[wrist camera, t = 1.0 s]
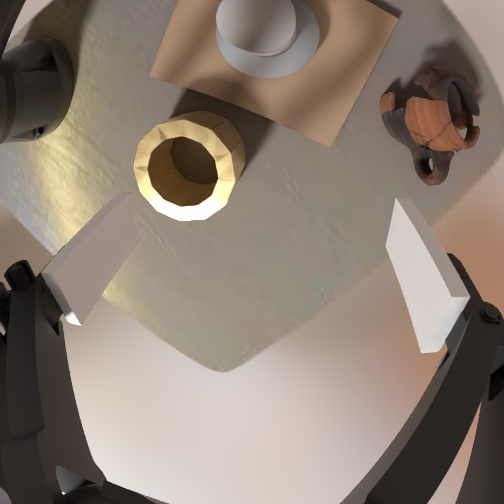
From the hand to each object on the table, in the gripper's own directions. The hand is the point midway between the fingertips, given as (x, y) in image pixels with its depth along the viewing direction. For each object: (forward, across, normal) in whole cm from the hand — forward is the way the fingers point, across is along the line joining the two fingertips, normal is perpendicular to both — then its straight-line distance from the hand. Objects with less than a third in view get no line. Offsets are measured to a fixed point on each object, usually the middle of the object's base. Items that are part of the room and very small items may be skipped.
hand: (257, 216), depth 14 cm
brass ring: (+18, -8, -2) cm, 20 cm away
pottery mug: (+18, +16, +3) cm, 24 cm away
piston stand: (+18, 0, +10) cm, 21 cm away
